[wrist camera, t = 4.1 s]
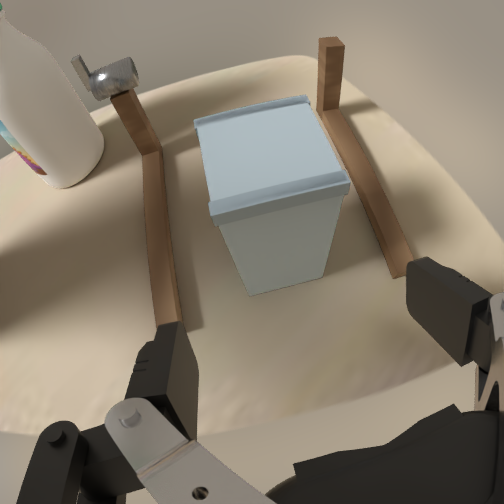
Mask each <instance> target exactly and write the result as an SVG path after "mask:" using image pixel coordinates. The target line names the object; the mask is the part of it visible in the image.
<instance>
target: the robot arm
mask: <svg viewBox="0 0 504 504" xmlns="http://www.w3.org/2000/svg"><path fill="white" fill-rule="evenodd" d="M406 304H407V308H408V311H409V313H410V315H411V316H412V317H413V318H414V319H415V320H416V321H417V322H418V323H419V324H420V325H421V326H422V327H423V328H424V329H425V330H426V331H427V332H428V333H429V334H430V335H431V336H432V337H433V338H434V339H435V340H436V341H437V342H438V343H439V344H440V345H441V346H442V347H443V348H444V350H445V351H446V352H447V353H448V354H449V355H450V356H451V357H452V358H453V359H454V360H455V361H456V362H457V363H458V364H459V365H460V366H461V367H462V366H464V365H466V364H468V363H470V362H472V361H473V360H474V361H475V362H476V363H477V367H476V373H475V374H476V375H475V404H474V405H475V406H474V411H469V412H463V413H461V412H460V411H459V410H458V408H457V407H456V406H455V405H454V404H452V405H450V406H448V407H446V408H444V409H442V410H440V411H438V412H436V413H434V414H432V415H430V416H428V417H426V418H424V419H422V420H420V421H418V422H417V423H416V424H414V425H413V426H412V427H410V428H409V429H407V431H405V432H403V433H402V434H401V435H399V436H398V437H396V438H395V439H393V440H392V441H390V442H389V443H387V444H385V445H382V446H376V447H370V448H363V449H356V450H347V451H338V452H335V453H331V454H328V455H324V456H321V457H317V458H314V459H310V460H306V461H302V462H298V463H294V464H293V466H294V470H295V474H296V475H295V476H293V477H291V478H288V479H287V480H285V481H283V482H281V483H280V484H278V485H276V486H275V487H274V488H272V489H271V490H270V491H269V492H267V493H266V494H265V495H264V494H262V493H261V492H259V491H258V490H256V489H255V488H254V487H253V486H251V485H250V484H249V483H247V482H246V481H245V480H243V479H242V478H241V477H239V476H238V475H237V474H236V473H234V472H233V471H232V470H231V469H229V468H228V467H227V466H226V465H224V464H223V463H222V462H221V461H220V460H218V459H217V458H216V457H215V456H214V455H213V454H211V453H210V452H209V451H208V450H207V449H205V448H204V447H203V446H202V445H201V444H200V443H199V442H197V412H198V385H199V370H198V364H197V360H196V357H195V355H194V352H193V349H192V347H191V344H190V342H189V339H188V336H187V334H186V331H185V328H184V326H183V324H182V322H181V321H175V322H170V323H165V324H161V325H158V328H157V332H156V335H155V339H154V341H149V342H147V343H146V344H145V345H144V346H143V347H142V349H141V350H140V351H139V352H138V356H137V359H136V364H135V365H134V368H133V373H132V375H131V378H130V382H129V385H128V388H127V392H126V395H125V399H124V400H123V401H121V402H119V403H117V404H116V405H115V406H113V407H112V408H111V409H110V410H109V412H108V413H107V415H106V417H105V424H102V425H100V426H97V427H94V428H91V429H87V430H84V431H81V432H80V430H79V429H78V428H77V426H76V425H75V424H74V423H72V422H70V421H59V422H55V423H53V424H51V425H49V426H48V427H47V428H46V429H45V430H44V431H43V432H42V433H41V434H40V436H39V439H38V441H37V443H36V446H35V449H34V452H33V455H32V457H31V460H30V463H29V466H28V468H27V472H26V474H25V478H24V480H23V484H22V486H21V490H20V493H19V496H18V500H17V503H16V504H76V502H77V504H126V493H130V492H133V491H136V490H140V489H143V488H146V489H147V490H148V492H149V493H150V494H151V495H152V497H153V498H154V499H155V500H156V502H157V503H158V504H504V292H501V293H497V294H495V295H494V296H493V295H492V294H491V293H489V292H488V291H486V290H485V289H483V288H482V287H480V286H479V285H477V284H476V283H474V282H473V281H470V280H469V279H468V278H466V277H465V276H462V274H460V273H459V272H457V271H455V270H454V269H451V268H448V267H444V266H442V265H440V264H438V263H437V262H435V261H434V260H432V259H430V258H429V257H423V258H420V259H416V260H413V261H410V262H408V264H407V266H406ZM78 492H79V494H78ZM77 497H78V500H77Z"/></svg>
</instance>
